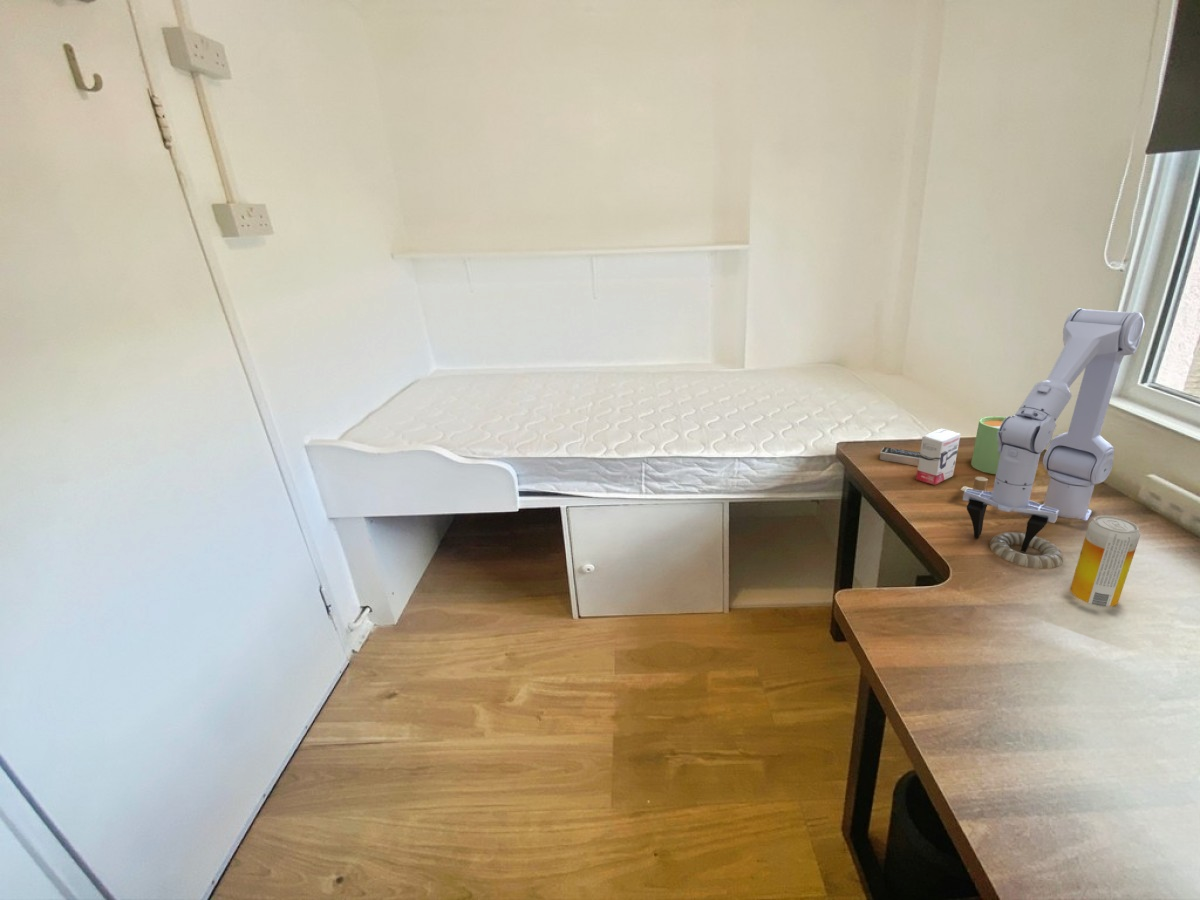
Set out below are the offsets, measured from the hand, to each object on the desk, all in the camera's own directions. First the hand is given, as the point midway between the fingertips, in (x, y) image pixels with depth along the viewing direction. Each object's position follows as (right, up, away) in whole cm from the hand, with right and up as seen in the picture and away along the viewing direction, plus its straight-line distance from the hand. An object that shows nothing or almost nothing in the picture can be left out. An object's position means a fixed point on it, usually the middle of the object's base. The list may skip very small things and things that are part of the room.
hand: (1000, 542), depth 107 cm
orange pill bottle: (+5, -8, -15) cm, 17 cm away
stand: (+9, +6, +19) cm, 22 cm away
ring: (+3, -1, -3) cm, 4 cm away
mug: (+24, +14, +36) cm, 46 cm away
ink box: (+6, +11, +32) cm, 34 cm away
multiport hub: (+4, +15, +43) cm, 45 cm away
